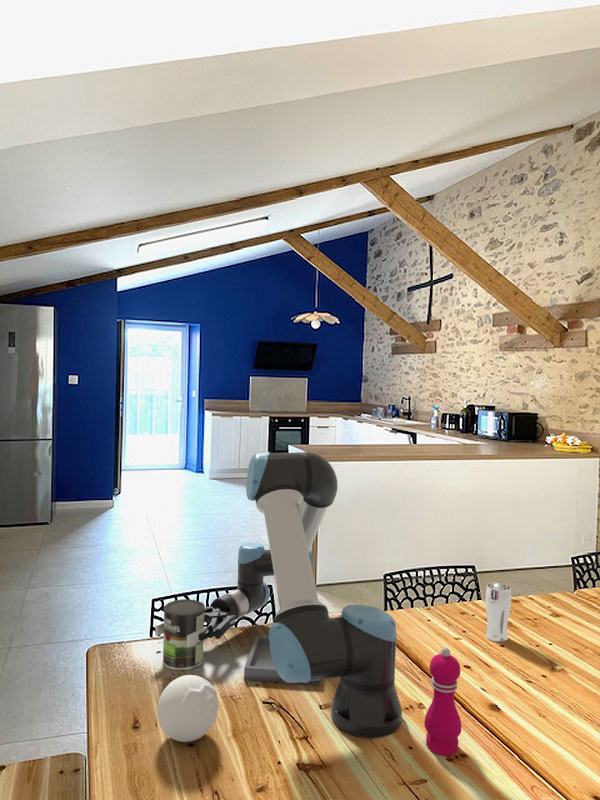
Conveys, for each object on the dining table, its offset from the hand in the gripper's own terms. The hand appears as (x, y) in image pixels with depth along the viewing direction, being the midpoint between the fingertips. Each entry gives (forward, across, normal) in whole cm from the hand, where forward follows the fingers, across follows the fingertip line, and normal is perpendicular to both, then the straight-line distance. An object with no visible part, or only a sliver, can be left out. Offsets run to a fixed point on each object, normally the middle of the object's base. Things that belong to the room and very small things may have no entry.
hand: (171, 635), depth 148 cm
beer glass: (-66, -63, -8) cm, 92 cm away
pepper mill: (-8, -67, -8) cm, 68 cm away
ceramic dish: (-18, -22, -8) cm, 30 cm away
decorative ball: (+19, -23, -8) cm, 31 cm away
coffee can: (-4, 0, -8) cm, 9 cm away
